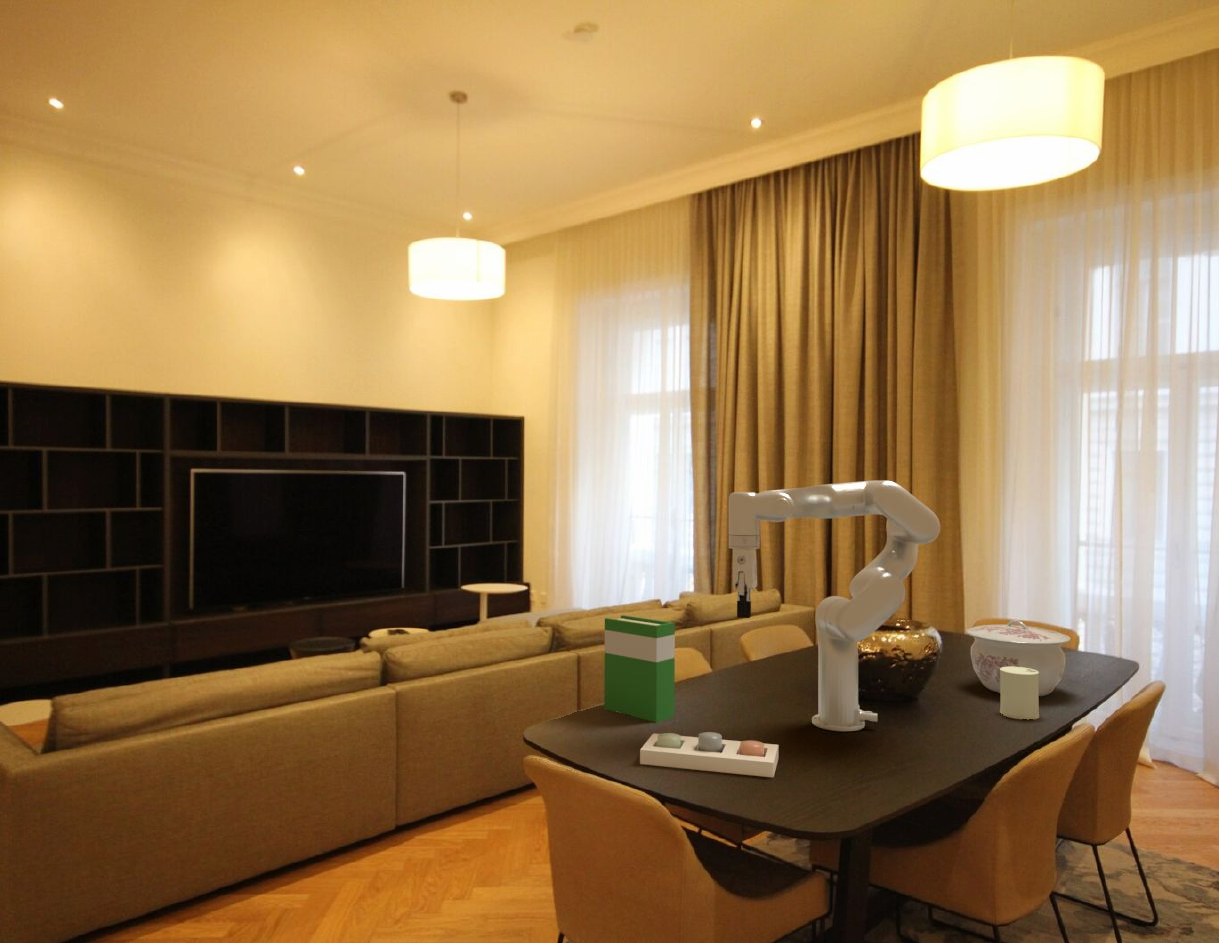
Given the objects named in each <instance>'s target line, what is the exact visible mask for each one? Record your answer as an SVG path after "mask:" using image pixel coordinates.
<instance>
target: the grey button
mask: <svg viewBox="0 0 1219 943" xmlns="http://www.w3.org/2000/svg"><path fill="white" fill-rule="evenodd" d="M722 738H723V736H722V734H720V733H718V732H713V731H707V732H700V733H698V751H707V752H717V753H722V740H723V739H722Z"/></svg>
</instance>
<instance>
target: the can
mask: <svg viewBox="0 0 1219 943" xmlns="http://www.w3.org/2000/svg"><path fill="white" fill-rule="evenodd" d="M1038 682H1039V672H1038V671H1037V670H1034V669H1030V668H1024V667H1002V668H1000V698H999V700H1000V709H999V714H1000V713H1001V714H1000V715H1002V714H1003V715H1002V716H1004V717H1006V716H1007V718H1010V719H1015V720H1022V719H1027V720H1028V721H1029V719H1033V720H1038V719H1039V718H1040V713H1039V711H1040V710H1039V709H1040V708H1039V707H1040V706H1039V702H1040V701H1039V697H1038ZM1027 720H1026V721H1027Z"/></svg>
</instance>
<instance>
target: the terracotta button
mask: <svg viewBox="0 0 1219 943" xmlns="http://www.w3.org/2000/svg"><path fill="white" fill-rule="evenodd" d="M764 744H765V743H764ZM764 744H763V742H761V741H758V740H742V742H741V743H740V755H748V756H759V757H764Z"/></svg>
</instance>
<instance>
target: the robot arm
mask: <svg viewBox="0 0 1219 943" xmlns="http://www.w3.org/2000/svg"><path fill="white" fill-rule="evenodd" d="M868 515H869V516H870V515H880V516H884V517H885V518H886V519H887V520H886V524H885V525H886V543H885V546H884V548H883V550H882V551H881V552H880V553H879V554H878V555H877V556H876V557H875V558H874V559H872V561H870V562H869V563H868V564H867V565H866V566H865V567H863V569H862V570H860V571H859V572H858V573H857V574H855V576H854V577H853V578H852V580H851V581H850V583H849V592H850V593H849V594H850V595H851V597H852V598H851V599H849V598H847V597H842V596H838V595H831V596H828V597H826V598H824V599H823V600H821V601H820V602H819V604H818V605H817V607H816V610H815V615H814V618H815V628H816V635H817V644H818V645H817V647H818V653H817V654H818V658H817V659H818V665H817V668H818V671H817V672H818V673H817V674H818V677H817V678H818V679H817V680H818V681H817V683H818V684H817V686H818V689H817V691H818V695H817V696H818V697H817V698H818V699H817V700H818V701H817V702H818V704H817V707H818V713H817V714H815V715H813V716H812V717H811V723H812V725H814V726H816V727H818V728H821V729H822V730H827V731H833V732H855V731H860V730H862V729H864V728H865V725H866V724H865V723H866V722H865V721H870V722H878V713H877V712H873V711H872V710H871V711H870V710H866V711H865V710H862V709H860V704H859V649H858V642H861V641H864V640H865V639H867V638H868V637H870V636H871V635H872V634H874V633H875V632H876V631H877V630H878V629H879V628H880V627H881V626H882V625H884V624H885V622H887V621H888V620H889V619H890V618H891V617H892V616H893V615H894V614H895V613H896V612H897V611H898V610H899V609H900V608H901V607H902V604H903V603H904V600H905V598H906V588H905V587H906V586H905V585H904V582H903V581H904V580H905V579H906V578H907V577H908V576H909V575H910V574H911V573H912V572H913V571H914V568H915V567H916V564H917V561H918V554H919V545H926V544H930V543H932V542H934V541H935V540H937V538H938V537H939V535H940V532H941V523H940V520H939V517H938V516H937V515H936V513H934V511H933V510H932V509H930V508H929V507H928V506H927V505H925V504H924V503H923V502H922V501H920V500H919V499H918V498H917V497H915V496H914V495H913V494H912V493H910V492H909V491H908V490H907V489H905V488H904V487H903V486H901V485H900V484H898V483H897V482H894V481H891V480H864V481H853V482H852V481H850V482H841V483H839V482H838V483H828V484H818V485H812V486H805V487H796V488H782V489H774V490H771V489H770V490H763V491H760V492H758V493H756V492H755V491H735V492H731V493H730V494H729V496H728V549H732V582H733V583H732V585H733V589H734V590H737V591H736V592H737V594H736V595H737V596H736V597H737V601H736V618H740V619H750V618H751V617H752V601H751V593H752V592H751V591H754V590H755V588H757V586H758V575H757V574H758V566H757V564H758V563H757V550H759V549H760V546H761V545H760V544H761V543H760V541H761V539H760V534H761V533H760V530H761V529H760V527H761V526H760V525H761V524H760V523H761V522H760V521H766V522H773V523H781V522H785V521H787V520H789V519H791V518H793V519H794V518H795V519H796V518H811V519H812V518H813V519H837V518H847V517H849V518H850V517H858V516H861V517H862V516H868Z"/></svg>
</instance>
